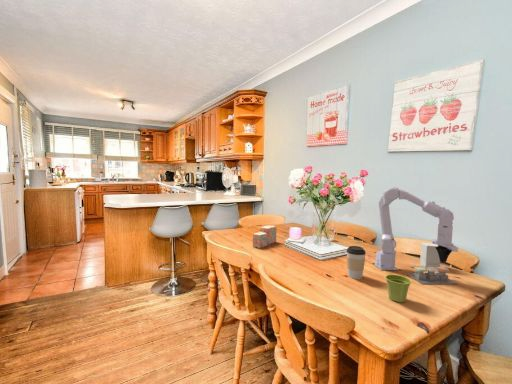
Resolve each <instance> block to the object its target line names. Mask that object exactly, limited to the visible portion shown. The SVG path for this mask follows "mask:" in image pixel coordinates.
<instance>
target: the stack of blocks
mask: <svg viewBox="0 0 512 384" xmlns="http://www.w3.org/2000/svg"><path fill="white" fill-rule="evenodd" d="M274 242H275V243H277V225H271V224H269V225H264V226H261V227H260V231H259V232H255V233H253V234H252V247H253V248H256V247H257V249H262V248H265V247H266V246H269V245H272V244H275V243H274ZM271 243H272V244H271ZM264 246H265V247H264Z"/></svg>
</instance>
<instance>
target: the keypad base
mask: <svg viewBox="0 0 512 384" xmlns="http://www.w3.org/2000/svg"><path fill="white" fill-rule="evenodd" d="M405 274H406V275H407V276H408V277H410V278H412V279H413V280H415V281H417V282H418V283H419V284H421V285H458V283H457V282H455V281H454V280H452V279H451V278H449V275H448V274H446V275H440V274H439V272H435V275H429V274H428V272H424V274H423V275H418V274H417V272H414V273H412V272H411V273H410V272H409V273H408V272H407V273H405Z"/></svg>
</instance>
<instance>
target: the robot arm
mask: <svg viewBox="0 0 512 384" xmlns="http://www.w3.org/2000/svg"><path fill="white" fill-rule="evenodd" d="M396 200H406V201H408V202H410V203H412V204H414V205H417V206H419V207H421V209H422V211H423V212H424V213H427V214H429V215H430V216H432V217H434V218H438V225H437V236H436V237H437V239H431V243H433V244H437V245H438V246H436V247H435V248H436V250H437V252H438V255H439V259H440V263H446V262H447V260H448V258H449V256H450V255H451V253H452V252H454V253H455V252H459V247H458V246H456V245H454V243H452V242H453V230H454V229H453V224H454V223H453V221H454V219H455V216H454V213H453V211H451V210H450V209H447V208H446V207H445V206H440V205H439V204H436V202H435V201H430V200H428V201H424V200H423V199H421V198H419V197H418V196H415V195H414V194H412V193H410V192H408V191H406V190H404V189H401V188H398V187H396V186H395V187H390V188H387V189H386V190H385V191H383V193H382V195H381V198H380V200H379V201H378V209H379V211H378V212H379V217H380V225H381V226H380V227H381V234H382V235H381V236H382V237H381V243H380V250H379V251H376V253H375V259H374V260H375V262H374V266H375V267H377V269H379V270H381V271H399V268H397V267H396V258H397V257H396V254H397V252H396V250H395V249H396V247H397V242H396V240H395V237H394V234H393V228H392V220H391V214H390V213H391V211H390V205H391V204H392V203H393V202H394V201H396Z"/></svg>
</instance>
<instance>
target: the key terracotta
mask: <svg viewBox="0 0 512 384" xmlns="http://www.w3.org/2000/svg"><path fill="white" fill-rule="evenodd" d="M435 268H436V269H438V273H439V274H440V275H447V272H448V273H450V268H447V267H445V266H440V267H435Z"/></svg>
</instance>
